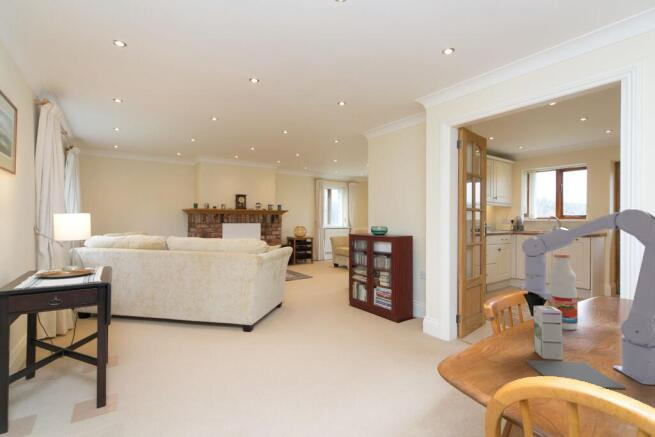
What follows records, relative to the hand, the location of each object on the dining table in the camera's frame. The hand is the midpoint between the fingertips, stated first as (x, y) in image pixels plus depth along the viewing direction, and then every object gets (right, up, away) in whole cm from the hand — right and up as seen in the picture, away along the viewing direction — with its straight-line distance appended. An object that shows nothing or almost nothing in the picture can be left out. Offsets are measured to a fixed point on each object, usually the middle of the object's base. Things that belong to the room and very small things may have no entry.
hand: (535, 316), depth 104 cm
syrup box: (-1, -10, -7) cm, 12 cm away
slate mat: (-3, -10, -18) cm, 21 cm away
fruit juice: (+24, -10, +20) cm, 33 cm away
